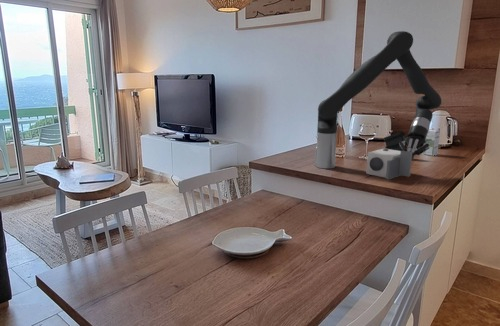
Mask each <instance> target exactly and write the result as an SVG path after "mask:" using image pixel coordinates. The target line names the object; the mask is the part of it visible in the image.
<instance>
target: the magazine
mask: <svg viewBox="0 0 500 326" xmlns="http://www.w3.org/2000/svg"><path fill="white" fill-rule="evenodd" d="M406 138H407V137H406V132H404V131H403V130H400V131H398V132H396V133H393V134H390V135H387V136H385V137H383V142H385V145H386V146H385V148H387V149H390V150H397V151H403V150H402V149H401V147H400V145H399V141H405V139H406ZM405 148H406V149H407V150H408V147H407V145H406V143H405Z"/></svg>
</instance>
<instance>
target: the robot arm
mask: <svg viewBox="0 0 500 326" xmlns="http://www.w3.org/2000/svg"><path fill="white" fill-rule="evenodd" d="M413 44H414V37H413V35H412V33H410V32H409V31H404V30H401V31H395V32H393V33H391V34H390V35H389V36H388V38H387V41H386V45H385V46H384V48H383V49H381V50H380V51H379V52H378V53H377V54H375V55H374V56H372V57H370V58H369V59H367V60H366V61H364V62H363V63H362V64H361V65H359V66H358V67H357V68H356V69H355V70H354V71H353V72H352V73H351V74H350V75H349V76H348V77H347V78H346V80H345V81H344V82H343V83H342V84H341V85H340V87H339V88H338V89H337V90H335V92H333V93H332V94H331V95H330V96H329V97H327V98H326V99H324V100H322V101H321V102H320V103H319V104H318V108H317V126H316V127H317V131H316V135H317V136H316V137H317V138H316V147H314V167H316V168H319V169H334V168H335V167H336V152H337V132H338V131H337V130H338V113H339V112H340V111H341V110H342V108H343V107H345V106H346V104H347V103H348V102H349V101H351V100H352V99H354V98H355V97H357V95H359V94H360V93H361V92H363V91H364V90H365V89H366V88H367V87H369V85H370V84H372V82H374V81H375V80H376V79H377V78H378V77H380V75H381V74H382V73H383V72H384V71H385V70H387V68H388V67H389V66H390V65H391V64H393V62H395V61H396V60H397V61H398V63H399V65H400V66H401V69H402V70H403V73H404V74H405V76H406V79H407V80H408V82H409V85H410V86H411V89H412V90H413V93H414V94H416V95H423V96H419V97H418V98H417V100H416V101H415V115H414V118H413V120H412V123H411V125H410V127H409V131H408V134H407V137H405V138H406V139H405V141H399V145H400V147H401V149H402V150H403V151H407V152H412V161H411V162H413V160H414V158H415V156H420V155H422V154H423V153H424V152H425V151H426V150H428V149H429V144H426V142H425V140H426V137H427V134H428V131H429V129H430V128H431V127H430V125H431V122H432V119H433V116H434V115H433V112H432V111H431V110H435V109H438V108H440V107H441V106H442V98H441V95H440V94H439V93H438V92H437V91H436V90H435V88H433V87H432V85H431V84H430V82H429V80H428V78H427V76H426V74H425V72H424V71H423V69H422V68H421V66H420V65H419V64H418V63H417V61H416V60H415V58H414V56H413V54H412V52H411V50H410V49H411V48H412V46H413ZM405 143H406V145H407V149H406V148H405Z"/></svg>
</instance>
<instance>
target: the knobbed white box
mask: <svg viewBox="0 0 500 326" xmlns="http://www.w3.org/2000/svg"><path fill="white" fill-rule="evenodd" d="M400 153H401V151H397V150H390V149H387V148H384V147H383V148H381V149H376V150H373V151H372V150H370V151H368V152H367V155H366V156H367V158H366V159H367V160H366V173H365V174H367V175H371V176H376V177H381V178H384V179H386V172H387V161H388V160H391V159H395V158H398V157H400ZM399 176H401V175H399ZM399 176H396V177H394V178H397V177H399ZM394 178H391V179H394ZM391 179H390V180H391Z"/></svg>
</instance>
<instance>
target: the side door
mask: <svg viewBox="0 0 500 326" xmlns="http://www.w3.org/2000/svg"><path fill="white" fill-rule="evenodd" d="M412 162H413V161H412V152H407V151H401V153H400V157H398V158H395V159H391V160H388V161H387V172H386V178H385V179H386V180H391V178H392V179H394V177H395V178H397V177H396V176H398V177H399V175H400V176H402V177H407V178H408V177H411V169H412Z"/></svg>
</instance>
